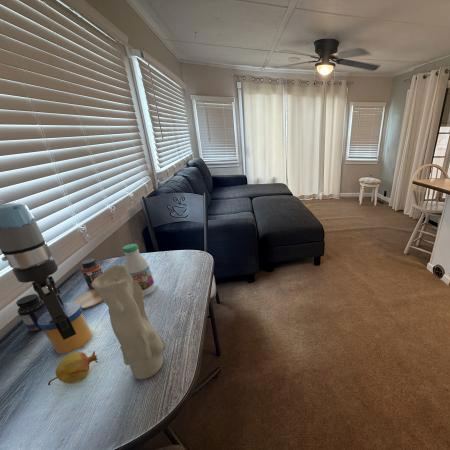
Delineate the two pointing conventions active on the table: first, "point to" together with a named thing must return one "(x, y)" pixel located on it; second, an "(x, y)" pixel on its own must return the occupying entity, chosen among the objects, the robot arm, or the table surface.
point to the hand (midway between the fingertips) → (65, 324)
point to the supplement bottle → (91, 271)
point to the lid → (70, 309)
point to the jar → (72, 342)
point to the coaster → (88, 299)
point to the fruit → (74, 367)
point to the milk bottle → (138, 268)
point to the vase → (130, 321)
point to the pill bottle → (31, 311)
